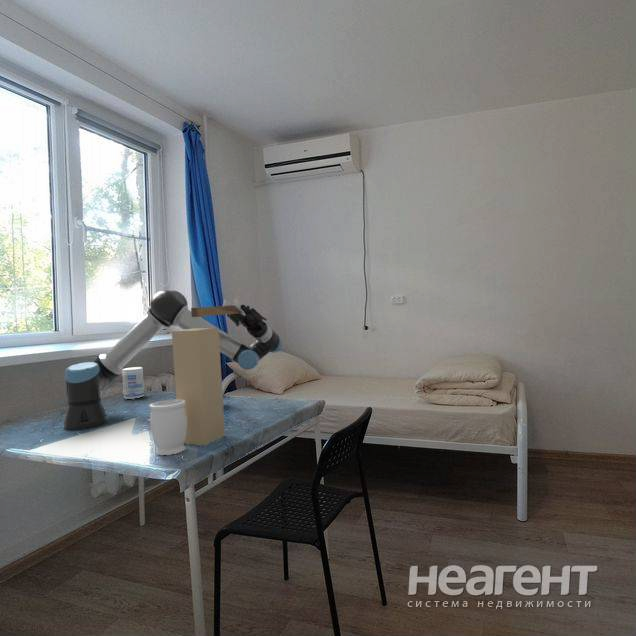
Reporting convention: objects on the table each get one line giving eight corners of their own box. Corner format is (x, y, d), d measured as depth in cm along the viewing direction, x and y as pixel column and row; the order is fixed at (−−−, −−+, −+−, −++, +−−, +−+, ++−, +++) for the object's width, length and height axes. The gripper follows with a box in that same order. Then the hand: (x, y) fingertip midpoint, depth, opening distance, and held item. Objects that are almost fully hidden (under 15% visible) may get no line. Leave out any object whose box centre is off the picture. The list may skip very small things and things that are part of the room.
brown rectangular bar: (191, 317, 155) (191, 307, 155) (236, 313, 180) (236, 305, 180) (201, 316, 154) (201, 307, 154) (245, 312, 179) (245, 304, 179)
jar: (158, 460, 137) (155, 408, 136) (148, 451, 145) (144, 403, 145) (194, 451, 143) (190, 401, 143) (182, 444, 152) (178, 397, 151)
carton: (179, 443, 152) (171, 331, 151) (200, 433, 162) (193, 328, 161) (205, 445, 148) (197, 330, 147) (225, 435, 158) (218, 327, 157)
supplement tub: (129, 400, 227) (127, 370, 227) (120, 399, 234) (118, 369, 233) (148, 397, 235) (146, 367, 234) (138, 395, 241) (136, 366, 240)
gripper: (243, 322, 197) (212, 294, 178) (280, 320, 190) (252, 292, 171) (239, 338, 194) (207, 312, 174) (276, 338, 187) (248, 310, 168)
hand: (229, 302), depth 173 cm, fingers closed on brown rectangular bar, 4 cm apart
